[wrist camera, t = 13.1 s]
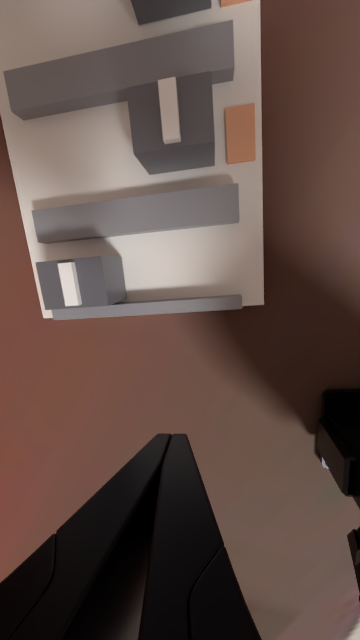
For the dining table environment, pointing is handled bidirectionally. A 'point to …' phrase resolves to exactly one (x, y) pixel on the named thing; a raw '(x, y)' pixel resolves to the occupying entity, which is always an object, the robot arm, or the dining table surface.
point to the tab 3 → (173, 123)
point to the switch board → (117, 150)
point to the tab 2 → (166, 9)
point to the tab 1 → (81, 282)
